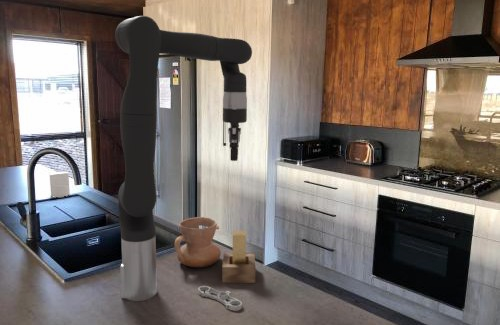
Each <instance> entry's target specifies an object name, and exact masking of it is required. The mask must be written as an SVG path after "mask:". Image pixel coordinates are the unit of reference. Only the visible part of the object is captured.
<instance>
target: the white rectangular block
mask: <svg viewBox="0 0 500 325" xmlns="http://www.w3.org/2000/svg"><path fill="white" fill-rule="evenodd" d="M69 175H70V174H69V171H62V172H61V171H59V172H52V173H49V186H50V197H51V196H54V197H53V198H56V197H58V198H65V197H64V196H66V197H68V196H67V195H69V194H70V193H71V192H70V191H71V190H70V178H69V177H70V176H69ZM70 195H71V194H70ZM70 195H69V196H70Z"/></svg>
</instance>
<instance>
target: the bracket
mask: <svg viewBox="0 0 500 325" xmlns="http://www.w3.org/2000/svg"><path fill="white" fill-rule="evenodd" d="M197 293H198V295H199V296H201V297H203V298H204V297H205V298H210V299H212V300H214V301H218V302H220V303H221V304H223V305H224V306H225V308H226V309H227V310H231V311H232V312H233V311H234V312H236V311H237V312H238V311H241V310H242V308H243V303H242V301H241V300H239V299H238V298H235V297H233V296H231V295H232V292H231V291H229V290H226V291H219V290H217V289H215V288H213V287H211V286H208V285H202V286H199V287H198V288H197Z"/></svg>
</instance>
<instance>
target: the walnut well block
mask: <svg viewBox="0 0 500 325" xmlns="http://www.w3.org/2000/svg"><path fill="white" fill-rule="evenodd" d="M255 254H256V253H246V261H245V264H233V253H223V259H222V266H221V274H222V275H221V277H222V278H221V279H222V280H221V282H222V283H231V284H232V283H233V284H235V283H236V284H238V283H240V284H241V283H244V284H245V283H246V284H247V283H250V284H252V283H253V284H254V283H256V257H255V256H256V255H255Z"/></svg>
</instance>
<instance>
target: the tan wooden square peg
mask: <svg viewBox="0 0 500 325" xmlns="http://www.w3.org/2000/svg"><path fill="white" fill-rule="evenodd" d="M246 249H247V231H246V230H232V254H233V264H245V261H246V254H247V253H246V251H247V250H246Z"/></svg>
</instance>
